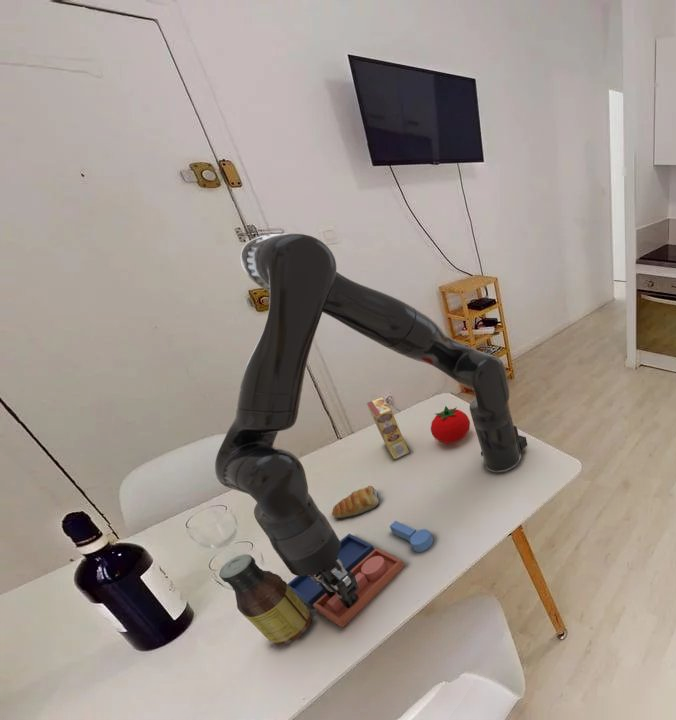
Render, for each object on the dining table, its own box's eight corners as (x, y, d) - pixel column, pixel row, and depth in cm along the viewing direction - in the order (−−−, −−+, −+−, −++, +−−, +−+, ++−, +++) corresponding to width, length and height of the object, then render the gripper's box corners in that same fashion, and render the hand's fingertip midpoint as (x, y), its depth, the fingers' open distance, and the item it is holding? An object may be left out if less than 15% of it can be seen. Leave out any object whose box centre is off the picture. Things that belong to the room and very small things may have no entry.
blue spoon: (388, 537, 91) (384, 530, 90) (403, 524, 94) (400, 516, 93) (422, 554, 87) (418, 546, 86) (437, 539, 90) (433, 531, 89)
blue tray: (352, 539, 91) (349, 533, 90) (375, 551, 88) (372, 545, 87) (288, 592, 81) (283, 586, 80) (312, 608, 78) (307, 602, 77)
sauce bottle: (286, 613, 77) (232, 545, 67) (321, 609, 78) (272, 542, 68) (261, 651, 72) (198, 584, 62) (299, 647, 72) (241, 580, 62)
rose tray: (379, 553, 88) (376, 547, 87) (404, 566, 85) (401, 560, 84) (316, 611, 77) (312, 605, 76) (342, 628, 75) (338, 622, 74)
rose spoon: (341, 615, 76) (336, 608, 75) (328, 607, 77) (322, 599, 76) (391, 567, 84) (387, 559, 83) (378, 560, 86) (374, 552, 85)
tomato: (436, 454, 115) (426, 426, 110) (435, 433, 123) (425, 406, 118) (475, 443, 118) (466, 415, 113) (471, 423, 127) (463, 397, 122)
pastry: (336, 526, 94) (329, 515, 92) (333, 508, 99) (326, 497, 97) (381, 505, 99) (376, 494, 97) (376, 489, 104) (371, 478, 102)
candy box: (410, 453, 116) (392, 409, 108) (394, 460, 113) (374, 416, 106) (400, 438, 121) (382, 396, 114) (384, 445, 119) (365, 402, 111)
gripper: (354, 536, 70) (387, 594, 78) (303, 510, 75) (339, 567, 84) (308, 574, 64) (349, 633, 72) (256, 543, 69) (300, 601, 78)
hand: (343, 597), depth 78 cm, fingers closed on rose tray, 4 cm apart
